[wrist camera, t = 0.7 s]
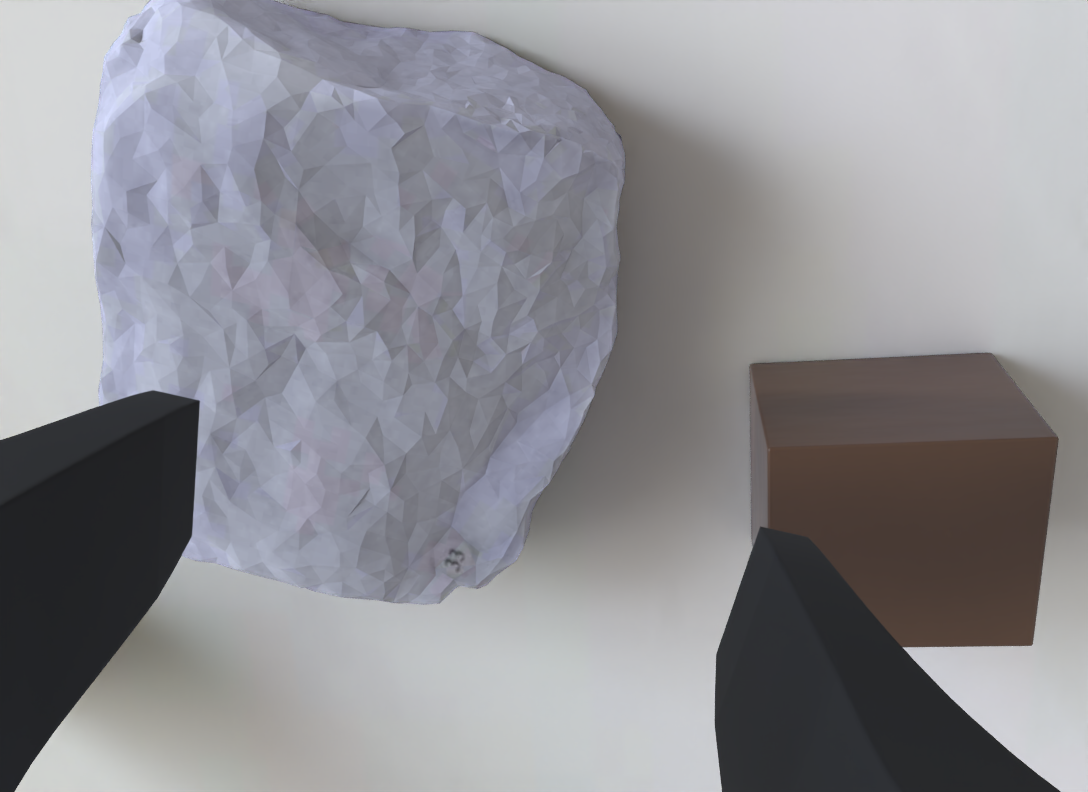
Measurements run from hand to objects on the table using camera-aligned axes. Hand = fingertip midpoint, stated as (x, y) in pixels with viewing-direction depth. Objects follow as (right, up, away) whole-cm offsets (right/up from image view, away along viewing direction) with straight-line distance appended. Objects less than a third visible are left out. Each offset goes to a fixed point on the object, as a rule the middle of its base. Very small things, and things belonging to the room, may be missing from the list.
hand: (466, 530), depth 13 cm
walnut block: (+8, 0, +10) cm, 13 cm away
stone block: (-2, +4, +10) cm, 11 cm away
